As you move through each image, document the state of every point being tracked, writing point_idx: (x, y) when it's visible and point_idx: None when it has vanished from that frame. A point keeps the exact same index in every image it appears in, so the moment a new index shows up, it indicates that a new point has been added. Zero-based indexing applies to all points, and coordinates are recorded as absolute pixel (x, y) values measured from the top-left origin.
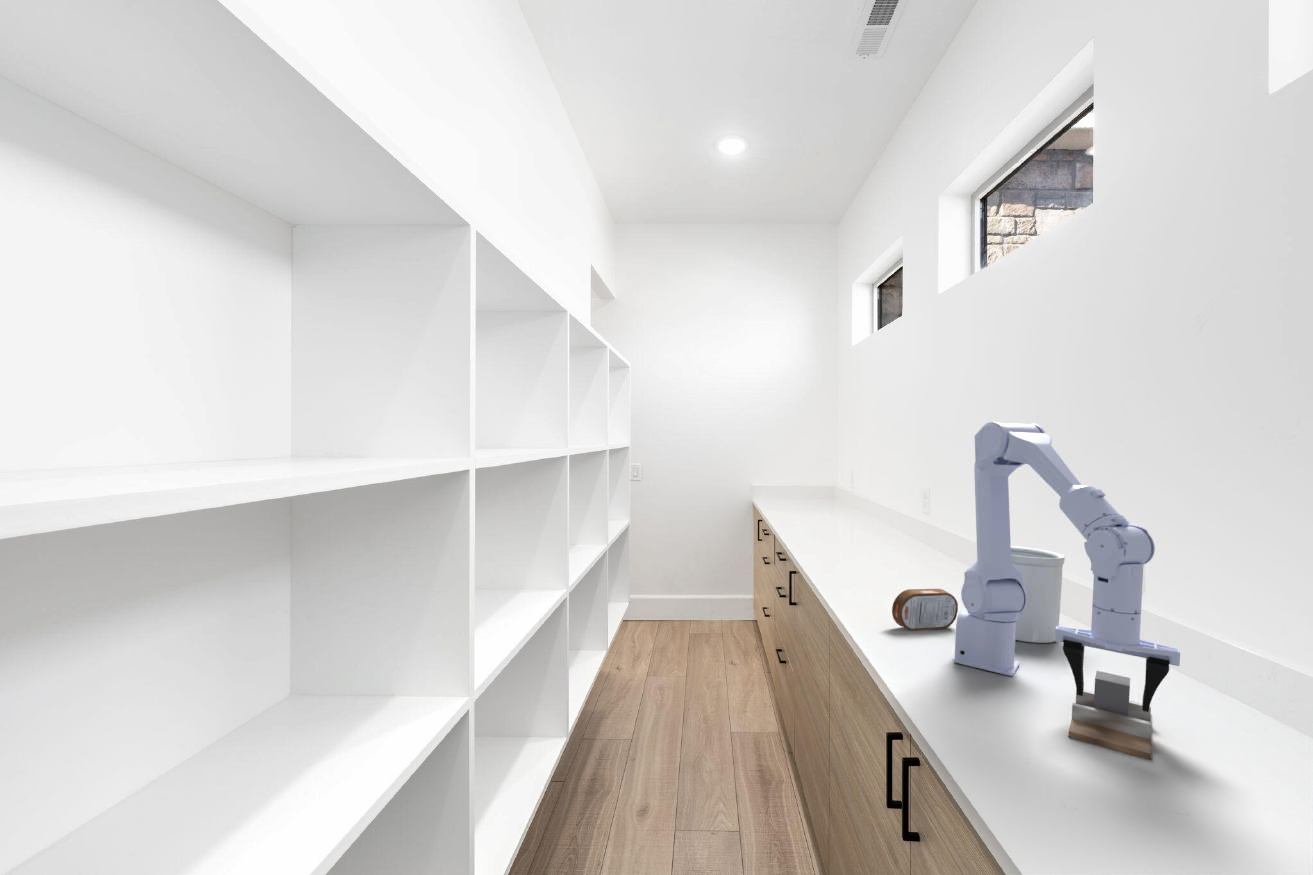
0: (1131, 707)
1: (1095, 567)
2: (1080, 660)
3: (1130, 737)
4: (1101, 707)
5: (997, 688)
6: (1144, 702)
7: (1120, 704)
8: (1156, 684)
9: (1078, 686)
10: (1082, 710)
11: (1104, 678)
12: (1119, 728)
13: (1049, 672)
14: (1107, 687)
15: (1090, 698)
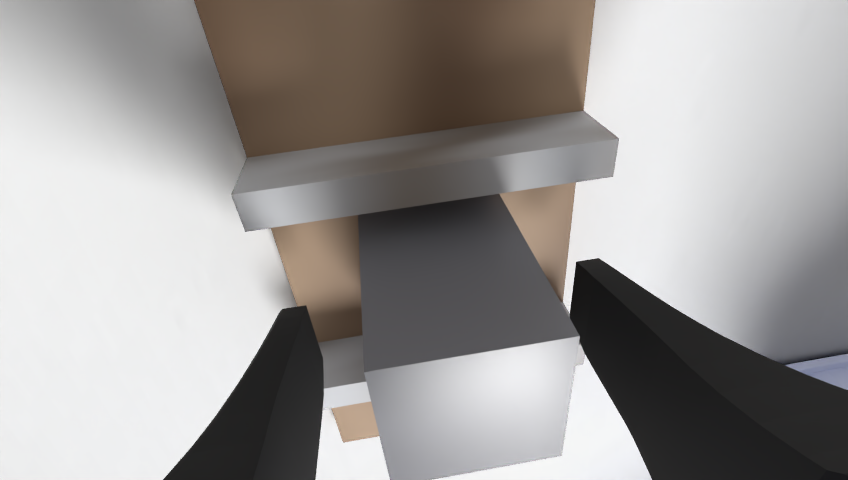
0: None
1: None
2: (763, 416)
3: (321, 99)
4: (480, 226)
5: (822, 242)
6: (290, 336)
7: (400, 267)
8: (189, 463)
9: (623, 283)
10: (560, 140)
11: (521, 378)
12: (380, 143)
13: (619, 471)
14: (488, 314)
15: None
